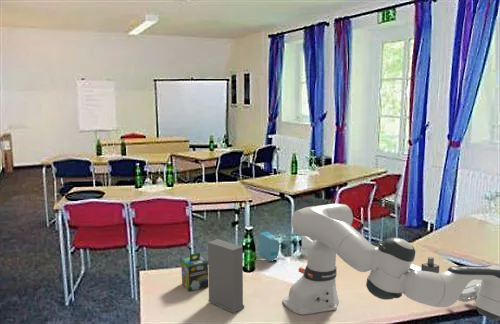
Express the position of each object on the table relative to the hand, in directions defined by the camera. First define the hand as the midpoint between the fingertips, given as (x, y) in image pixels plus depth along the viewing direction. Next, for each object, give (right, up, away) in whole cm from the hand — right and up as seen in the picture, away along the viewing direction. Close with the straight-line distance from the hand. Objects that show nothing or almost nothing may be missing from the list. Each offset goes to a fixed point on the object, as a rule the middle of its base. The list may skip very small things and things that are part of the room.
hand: (454, 281), depth 188 cm
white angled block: (-53, +1, +51) cm, 73 cm away
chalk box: (-105, -5, +14) cm, 107 cm away
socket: (-12, -3, +24) cm, 27 cm away
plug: (-6, -5, +12) cm, 14 cm away
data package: (-73, 0, +46) cm, 86 cm away
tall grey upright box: (-91, -8, -4) cm, 92 cm away
